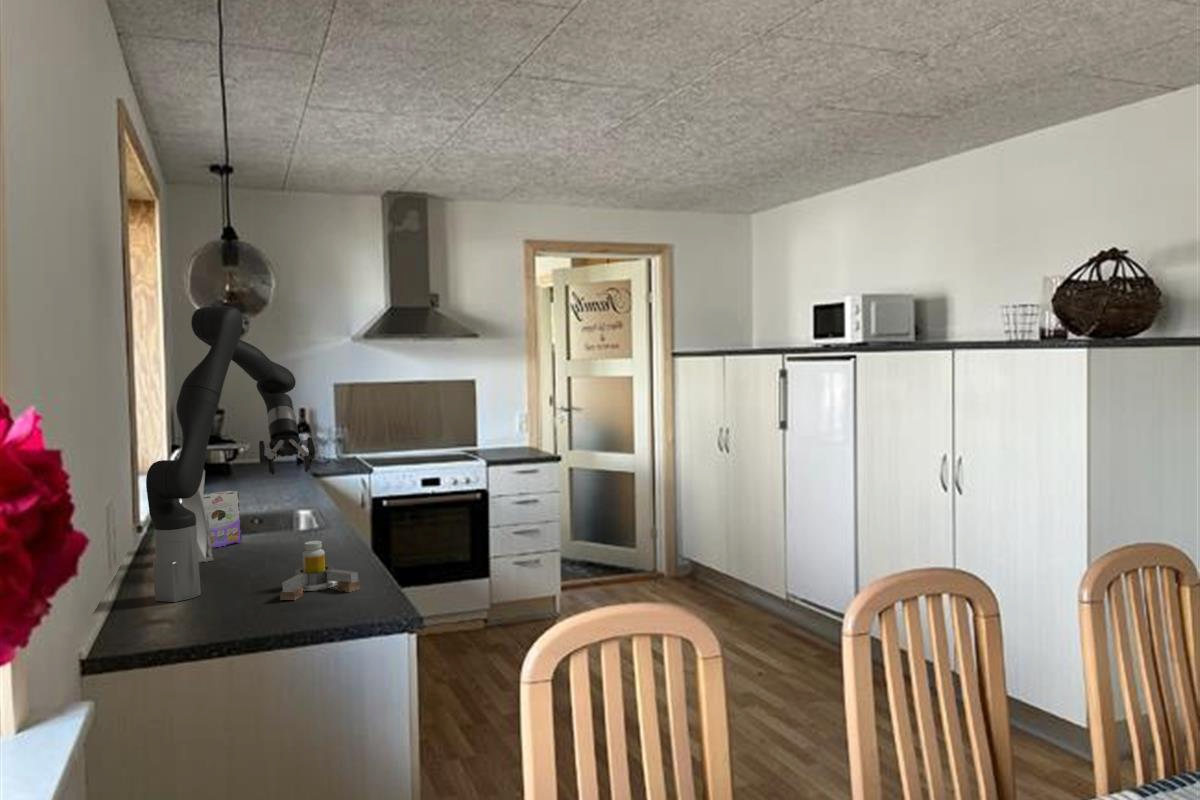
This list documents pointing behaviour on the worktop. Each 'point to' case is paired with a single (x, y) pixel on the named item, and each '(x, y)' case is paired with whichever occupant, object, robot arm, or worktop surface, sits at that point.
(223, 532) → the candy box
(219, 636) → the worktop surface
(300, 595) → the blocks
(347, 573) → the angled shafts
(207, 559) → the skyscraper
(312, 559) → the supplement bottle
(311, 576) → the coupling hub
